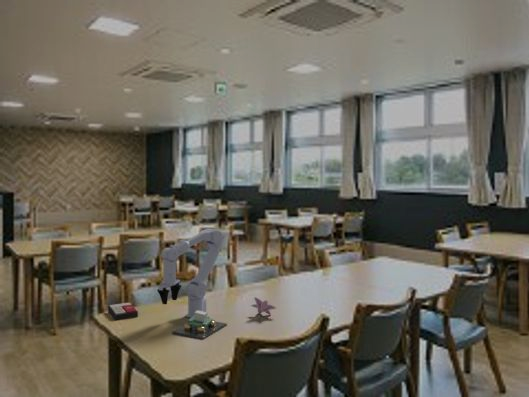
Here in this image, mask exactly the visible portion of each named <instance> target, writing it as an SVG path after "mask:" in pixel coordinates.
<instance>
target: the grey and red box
mask: <svg viewBox="0 0 529 397" xmlns="http://www.w3.org/2000/svg"><path fill="white" fill-rule="evenodd" d="M107 312H108V314H109V315H110V316H111V317H112V319H113V320H114V321H118V320H119V321H120V320H127V319H133V318H138V317H139V311H138V310H137V309H136V308H135V306H133V304H132V303H131V302H122V303H116V304H110V305H108V310H107Z"/></svg>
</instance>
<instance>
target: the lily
mask: <svg viewBox="0 0 529 397" xmlns="http://www.w3.org/2000/svg"><path fill="white" fill-rule="evenodd" d="M253 299H254V301H255V303H254V304H251V305H250V306H251V307H252V308H256V309H257V314H259V317H261V315H262V313H266V314H267V315H269V316H271V315H272V313H271V311H270V310H275V309H277V307H276V306H274V305H272V304H269V301H268V300H263V301H262V300H261V299H260V298H258V297H256V296H254V297H253Z"/></svg>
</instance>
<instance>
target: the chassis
mask: <svg viewBox="0 0 529 397" xmlns="http://www.w3.org/2000/svg"><path fill="white" fill-rule="evenodd" d="M211 319H212V322H211V323H210V324H209V325H207V326H202V325H201V327H197V326H193V325H190V322H188V321H187V323H185V324H184V325H182V326H180V327H179V328H176V329H174V330H172V332H171V334H172V335H177V336H184V337H187V338H193V339H198V340H205V339H207V338H209V337H211V336H212V335H214V334H216V332H218V331H220V330H222V329H223V328H225V327H227V325H228V324H227V322H221V321H216V320H215V319H213V318H211Z"/></svg>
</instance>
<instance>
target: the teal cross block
mask: <svg viewBox="0 0 529 397" xmlns="http://www.w3.org/2000/svg"><path fill="white" fill-rule="evenodd" d="M207 313H208V312H207V311H206V312H203V311H198V310H197V311H196V312H195V313H194V316H193V317H189V319H188V320H187V323H188V322H189V323H190V325H193V326H197V327H201V325H202V326H207V325H209V324H210V323H211V322H212V319H213V318H210V316H208V314H207Z"/></svg>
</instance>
